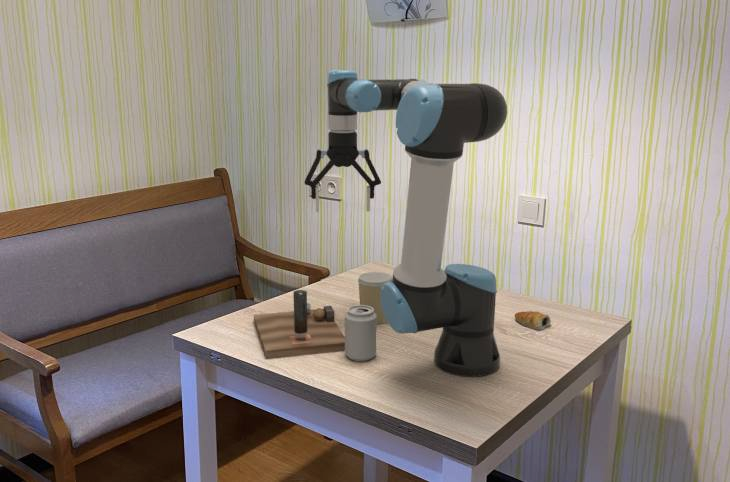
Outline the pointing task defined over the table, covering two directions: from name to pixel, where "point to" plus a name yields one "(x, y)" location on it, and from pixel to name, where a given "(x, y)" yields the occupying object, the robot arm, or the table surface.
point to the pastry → (533, 319)
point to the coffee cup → (373, 292)
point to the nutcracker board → (282, 338)
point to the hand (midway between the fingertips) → (342, 210)
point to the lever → (300, 313)
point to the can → (360, 332)
